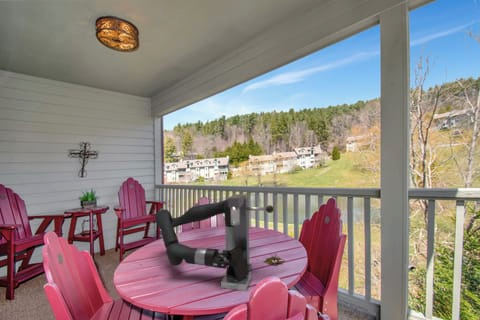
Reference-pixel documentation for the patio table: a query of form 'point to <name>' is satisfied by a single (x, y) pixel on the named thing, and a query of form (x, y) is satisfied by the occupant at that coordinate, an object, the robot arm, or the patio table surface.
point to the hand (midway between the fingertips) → (240, 259)
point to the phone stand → (241, 269)
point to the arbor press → (241, 237)
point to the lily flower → (273, 259)
